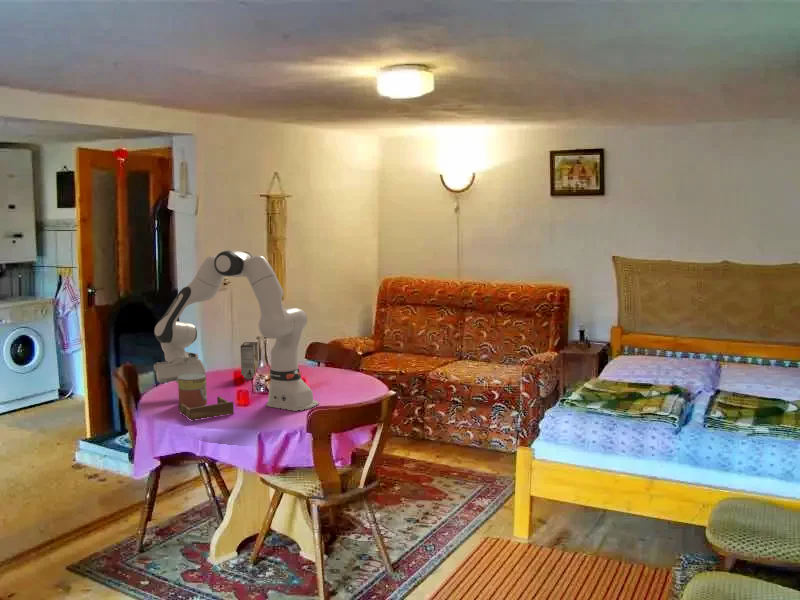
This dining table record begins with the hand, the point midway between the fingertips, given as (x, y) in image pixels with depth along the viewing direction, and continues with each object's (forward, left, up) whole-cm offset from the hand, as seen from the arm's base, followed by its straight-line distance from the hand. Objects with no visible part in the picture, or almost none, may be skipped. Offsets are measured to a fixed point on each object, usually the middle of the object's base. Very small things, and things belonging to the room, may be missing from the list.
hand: (185, 387), depth 320 cm
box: (-23, +6, -5) cm, 25 cm away
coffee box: (+12, -43, -6) cm, 45 cm away
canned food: (-9, +2, -6) cm, 11 cm away
